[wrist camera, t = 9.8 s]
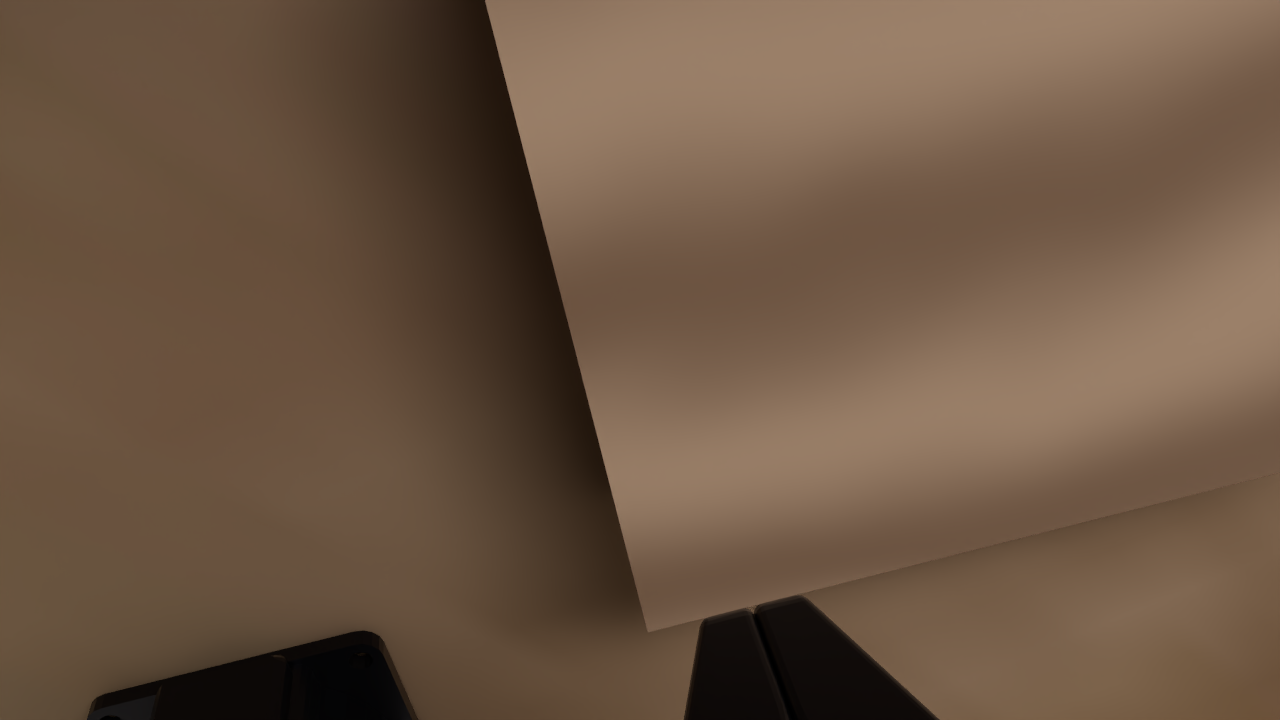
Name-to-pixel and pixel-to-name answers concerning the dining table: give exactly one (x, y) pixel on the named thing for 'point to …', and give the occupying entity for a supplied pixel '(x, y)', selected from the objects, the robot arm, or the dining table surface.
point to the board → (903, 269)
